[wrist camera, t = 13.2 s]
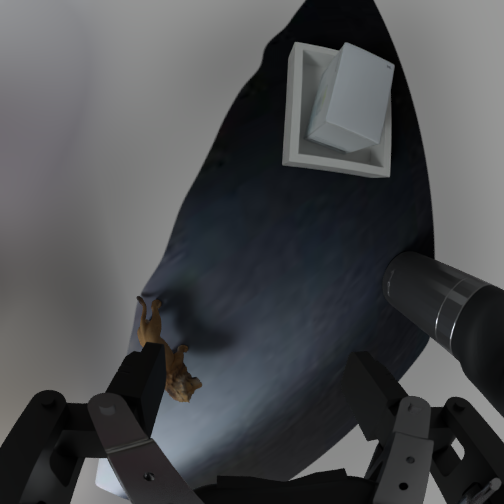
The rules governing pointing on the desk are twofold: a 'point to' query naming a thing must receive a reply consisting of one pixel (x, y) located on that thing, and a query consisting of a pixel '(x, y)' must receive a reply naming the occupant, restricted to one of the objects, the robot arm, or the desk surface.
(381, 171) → the tray
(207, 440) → the desk surface
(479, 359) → the robot arm
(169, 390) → the lion figurine
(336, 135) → the skincare box
